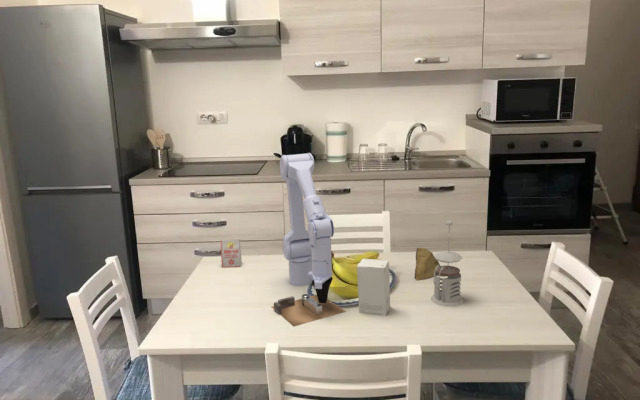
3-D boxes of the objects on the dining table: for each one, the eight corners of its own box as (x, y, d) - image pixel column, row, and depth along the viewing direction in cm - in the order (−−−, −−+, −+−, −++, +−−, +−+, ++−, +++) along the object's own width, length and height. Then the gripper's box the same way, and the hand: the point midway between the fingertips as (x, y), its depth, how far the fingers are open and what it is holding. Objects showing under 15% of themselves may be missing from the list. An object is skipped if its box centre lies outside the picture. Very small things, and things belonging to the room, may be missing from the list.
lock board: (320, 296, 164) (320, 286, 163) (346, 314, 151) (345, 303, 150) (270, 310, 155) (269, 299, 155) (292, 330, 143) (292, 318, 142)
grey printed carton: (223, 264, 195) (221, 238, 193) (241, 263, 195) (239, 238, 193) (222, 267, 191) (220, 241, 189) (240, 267, 192) (238, 241, 189)
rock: (441, 262, 183) (413, 258, 184) (446, 249, 177) (417, 245, 177) (441, 289, 177) (412, 285, 177) (447, 276, 170) (416, 272, 171)
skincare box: (390, 309, 153) (390, 259, 150) (385, 319, 147) (385, 267, 144) (363, 306, 156) (362, 257, 152) (357, 316, 150) (356, 265, 146)
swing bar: (300, 303, 157) (300, 295, 156) (307, 302, 158) (307, 293, 157) (315, 315, 149) (315, 306, 148) (322, 313, 150) (322, 304, 149)
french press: (469, 298, 159) (472, 219, 153) (450, 311, 151) (453, 228, 145) (441, 290, 166) (443, 214, 160) (421, 302, 158) (422, 223, 152)
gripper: (312, 250, 159) (313, 291, 162) (303, 267, 145) (305, 312, 148) (335, 250, 157) (336, 292, 161) (328, 268, 143) (329, 313, 147)
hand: (323, 302), depth 154 cm, fingers closed
